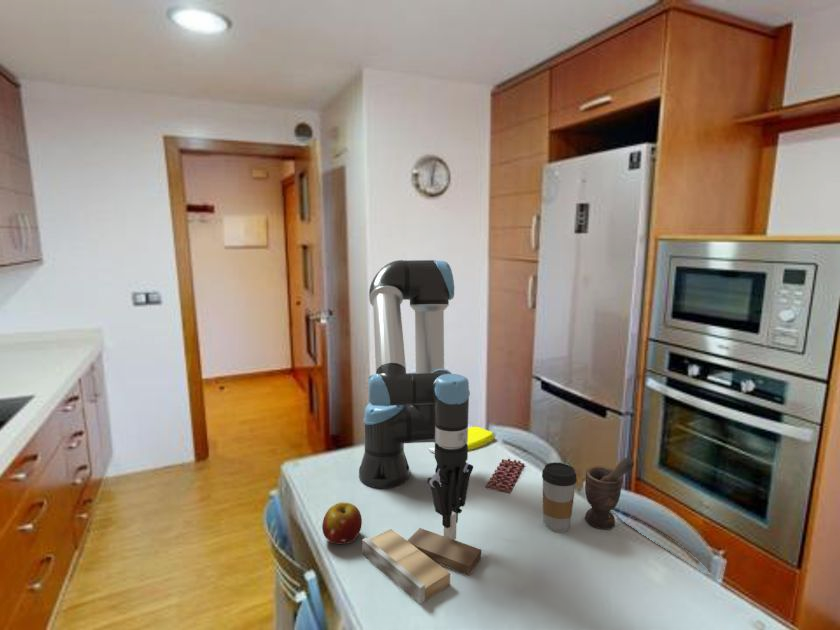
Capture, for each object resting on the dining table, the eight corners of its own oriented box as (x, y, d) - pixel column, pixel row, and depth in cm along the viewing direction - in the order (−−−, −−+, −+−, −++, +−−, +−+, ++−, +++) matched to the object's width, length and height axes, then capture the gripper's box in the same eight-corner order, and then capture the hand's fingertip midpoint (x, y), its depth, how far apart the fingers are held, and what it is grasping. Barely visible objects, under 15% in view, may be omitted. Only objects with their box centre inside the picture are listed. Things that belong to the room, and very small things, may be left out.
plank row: (362, 553, 111) (362, 539, 111) (391, 539, 117) (391, 525, 116) (420, 604, 96) (420, 587, 96) (449, 585, 102) (450, 569, 101)
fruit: (343, 555, 111) (343, 523, 109) (314, 542, 115) (313, 511, 114) (369, 534, 119) (369, 503, 117) (341, 522, 123) (340, 492, 122)
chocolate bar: (524, 466, 155) (525, 460, 155) (509, 495, 138) (510, 488, 138) (502, 462, 158) (502, 456, 158) (485, 489, 141) (485, 483, 141)
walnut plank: (405, 552, 113) (405, 542, 112) (419, 537, 118) (419, 527, 118) (469, 576, 105) (469, 566, 104) (481, 559, 110) (481, 549, 110)
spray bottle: (496, 441, 174) (448, 463, 157) (473, 432, 182) (425, 451, 165) (497, 433, 173) (448, 454, 157) (473, 424, 181) (425, 443, 165)
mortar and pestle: (635, 525, 123) (641, 450, 120) (625, 541, 117) (631, 463, 114) (589, 508, 131) (594, 438, 127) (577, 523, 124) (582, 449, 121)
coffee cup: (575, 536, 118) (579, 479, 116) (539, 532, 120) (543, 475, 117) (571, 517, 126) (575, 463, 124) (538, 513, 128) (541, 460, 126)
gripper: (442, 457, 104) (441, 557, 108) (482, 440, 113) (480, 533, 116) (418, 445, 110) (418, 541, 114) (459, 430, 118) (457, 520, 122)
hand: (449, 537), depth 115 cm, fingers closed
